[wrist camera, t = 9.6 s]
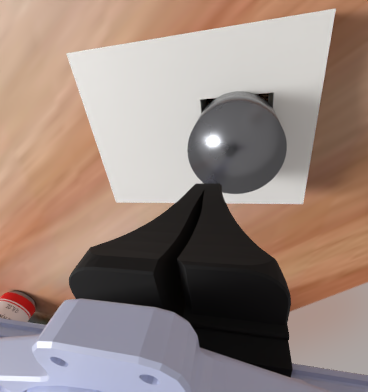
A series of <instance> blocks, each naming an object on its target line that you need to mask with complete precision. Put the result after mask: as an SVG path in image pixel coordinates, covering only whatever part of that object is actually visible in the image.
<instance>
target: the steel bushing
mask: <svg viewBox="0 0 368 392" xmlns="http://www.w3.org/2000/svg"><path fill="white" fill-rule="evenodd" d="M286 151H287V142H286V136H285V133H284V130H283V128H282V126H281V124H280V122H279V120H278V118H277V115H276V113H275V111H274V110H273V108H272V107H271V105H270V104H269V103H268V102H267V101H266V100H264V99H263V98H262V97H260V96H258V95H256V94H253V93H250V92H244V91H235V92H229V93H226V94H223V95H221V96H219V97H217V98H216V99H214V100H213V101H212V102H210V103H209V104H208V105H207V106H206V108H205V109H204V110H203V112H202V113H201V115H200V117H199V119H198V120H197V122H196V124H195V126H194V128H193V130H192V132H191V134H190V137H189V140H188V148H187V152H188V159H189V163H190V166H191V168H192V170H193V172H194V173H195V175H196V176H197V177H198V178H199V179H200V180H201V181H202V182H203V183H220V184H221V185H222V192H223V193H228V194H243V193H248V192H251V191H254V190H257V189H259V188H261V187H263V186H264V185H266V184H267V183H269V182H270V181H271V180H272V179H273V178H274V177H275V176H276V175H277V173H278V172H279V170H280V169H281V167H282V165H283V163H284V160H285V157H286Z"/></svg>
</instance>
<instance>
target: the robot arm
mask: <svg viewBox="0 0 368 392" xmlns="http://www.w3.org/2000/svg"><path fill="white" fill-rule="evenodd" d="M69 285H70V288H71V290H72V293H73V294H74V296H75V298H76V299H70V300H65V301H64V302H63V303H62V304H61V305H60V307H59V308H58V309H57V311H56V312H55V314H54V315H53V317H52V318H51V319H50V321H49V322H48V324H47V325H42V324H35V323H29V322H23V321H16V320H10V319H3V318H0V392H368V375H362V374H356V373H349V372H343V371H337V370H330V369H324V368H318V367H311V366H305V365H298V364H292V362H291V356H290V350H289V343H288V340H289V332H288V326H287V321H288V316H289V311H290V305H291V298H290V293H289V289H288V286H287V283H286V281H285V278H284V276H283V274H282V271H281V269H280V267H279V265H278V263H277V261H276V260H275V259H274V258H273V257H272V256H270V255H269V254H267V253H266V252H265V251H263V250H262V249H261V248H259V247H258V246H257V245H256V244H255V243H254V242H253V241H252V240H251V239H250V238H249V237H248V236H247V235H246V234H245V233H244V231H243V230H242V229H241V228H240V226H239V225H238V224H237V222H236V221H235V219H234V218H233V216H232V215H231V213H230V211H229V209H228V207H227V205H226V202H225V200H224V197H223V194H222V185H221V184H220V183H202V184H195V185H194V186H193V187H192V188H191V189H190V190H189V191H188V192H187V193H186V194H185V195H184V196H183V197H182V198H181V199H179V200H178V201H177V202H176V203H175V204H174V205H173V206H171V207H170V208H169V209H168V210H167V211H165V212H164V213H163V214H161V215H160V216H158V217H157V218H155V219H154V220H152V221H151V222H149V223H147V224H145V225H144V226H142V227H140V228H138V229H136V230H134V231H132V232H130V233H128V234H126V235H124V236H121V237H119V238H116V239H114V240H111V241H108V242H105V243H102V244H99V245H97V246H93V247H90V249H89V250H88V251H87V253H86V254H85V255H84V257H83V258H82V259H81V261H80V262H79V263H78V265H77V266H76V268H75V269H74V270H73V272H72V273H71V275H70V277H69Z"/></svg>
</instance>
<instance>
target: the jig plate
mask: <svg viewBox="0 0 368 392" xmlns="http://www.w3.org/2000/svg"><path fill="white" fill-rule="evenodd" d="M335 11H336V9H330V10H324V11H318V12H312V13H306V14H300V15H294V16H288V17H282V18H276V19H270V20H264V21H258V22H252V23H246V24H240V25H234V26H228V27H222V28H216V29H210V30H204V31H198V32H192V33H186V34H180V35H174V36H168V37H162V38H156V39H150V40H144V41H138V42H132V43H126V44H120V45H114V46H108V47H102V48H96V49H90V50H84V51H78V52H72V53H66V54H67V57H68V60H69V63H70V66H71V69H72V72H73V75H74V78H75V81H76V84H77V87H78V90H79V93H80V95H81V98H82V101H83V104H84V107H85V110H86V113H87V116H88V119H89V122H90V125H91V128H92V131H93V134H94V137H95V140H96V143H97V146H98V149H99V152H100V155H101V158H102V161H103V164H104V167H105V170H106V173H107V176H108V179H109V182H110V185H111V188H112V191H113V194H114V197H115V200H116V202H131V203H176V202H177V201H178V200H179V199H181V198H182V197H183V196H184V195H185V194H186V193H187V192H188V191H189V190H190V189H191V188H192V187H193V186H194V185H195V184H202V183H203V182H202V181H201V180H200V179H199V178H198V177H197V176H196V175H195V173H194V172H193V170H192V168H191V166H190V163H189V159H188V152H187V148H188V140H189V137H190V134H191V132H192V130H193V128H194V126H195V124H196V122H197V120H198V119H199V117H200V115H201V113H202V112H203V110H204V109H205V108H206V106H207V101H206V99H211V98H217V97H219V96H221V95H223V94H226V93H229V92H235V91H244V92H250V93H253V94H263V93H269V97H268V103H269V104H270V105H271V107H272V108H273V110H274V111H275V113H276V115H277V118H278V120H279V122H280V124H281V126H282V128H283V130H284V133H285V136H286V142H287V151H286V157H285V160H284V163H283V165H282V167H281V169H280V170H279V172H278V173H277V175H276V176H275V177H274V178H273V179H272V180H271V181H270V182H269V183H267V184H266V185H264V186H263V187H261V188H259V189H257V190H254V191H251V192H248V193H243V194H228V193H223V192H222V194H223V197H224V200H225V202H226V203H247V204H303V201H304V196H305V190H306V184H307V178H308V172H309V166H310V160H311V154H312V148H313V142H314V136H315V130H316V124H317V118H318V112H319V106H320V100H321V94H322V88H323V82H324V76H325V70H326V64H327V58H328V52H329V46H330V41H331V35H332V29H333V23H334V17H335Z"/></svg>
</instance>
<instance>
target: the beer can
mask: <svg viewBox="0 0 368 392" xmlns="http://www.w3.org/2000/svg"><path fill="white" fill-rule="evenodd" d="M34 312H35V302H34V300H33V299H32V298H30V297H29V296H28V295H26V294H24V293H22V292H19V291H12V292H7V293H5V294H4V295H2V296H1V298H0V318H3V319H10V320H16V321H23V322H27V321H28V320H29V319H30V317H31V316H32V315H33V314H34Z"/></svg>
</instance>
